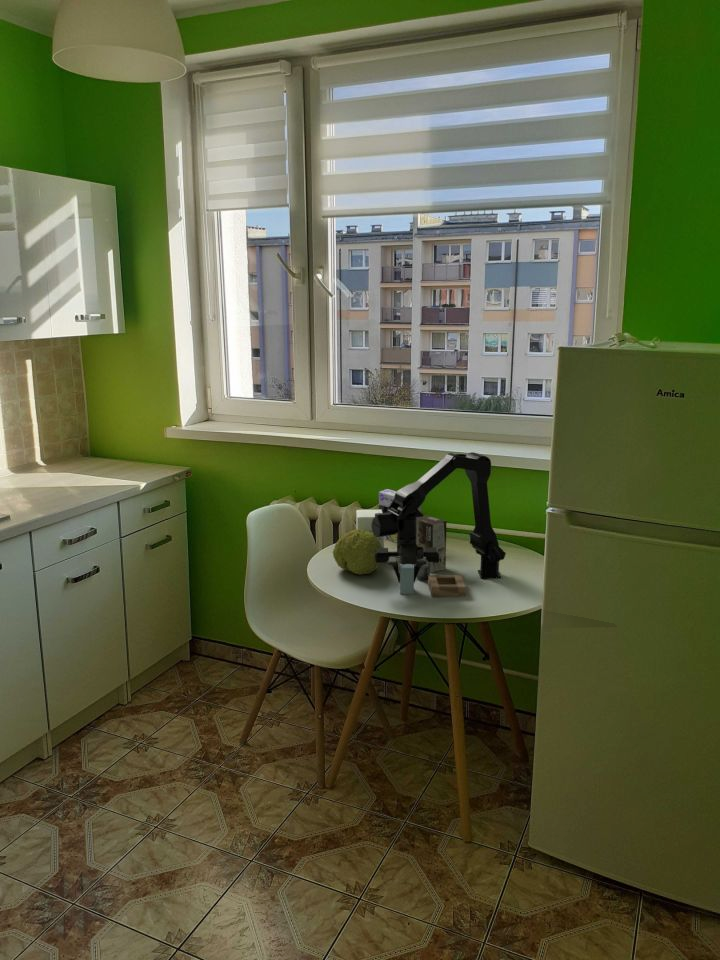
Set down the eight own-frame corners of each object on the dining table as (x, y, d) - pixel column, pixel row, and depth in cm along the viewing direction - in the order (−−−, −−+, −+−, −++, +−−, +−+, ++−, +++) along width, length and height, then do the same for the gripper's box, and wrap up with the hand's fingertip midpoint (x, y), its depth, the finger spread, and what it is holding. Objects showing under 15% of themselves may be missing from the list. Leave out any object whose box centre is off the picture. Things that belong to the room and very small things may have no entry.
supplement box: (356, 551, 266) (355, 509, 262) (382, 550, 266) (382, 508, 263) (357, 560, 257) (356, 517, 253) (384, 559, 257) (384, 516, 254)
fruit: (324, 576, 242) (322, 529, 246) (352, 580, 254) (350, 535, 258) (366, 570, 233) (363, 521, 237) (392, 574, 244) (390, 527, 248)
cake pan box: (377, 536, 281) (376, 489, 277) (387, 533, 284) (387, 487, 280) (412, 550, 267) (412, 500, 262) (423, 547, 270) (423, 498, 265)
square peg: (399, 588, 233) (399, 563, 231) (412, 588, 233) (412, 563, 231) (400, 593, 229) (400, 568, 227) (413, 593, 229) (413, 568, 227)
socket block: (428, 584, 236) (428, 575, 235) (460, 583, 236) (461, 574, 235) (431, 597, 226) (431, 587, 225) (465, 596, 226) (465, 587, 225)
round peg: (415, 576, 243) (416, 552, 241) (429, 575, 243) (429, 551, 241) (417, 581, 238) (417, 556, 237) (430, 580, 239) (431, 556, 237)
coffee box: (446, 568, 249) (447, 520, 245) (432, 573, 245) (433, 524, 241) (427, 561, 256) (427, 514, 252) (412, 565, 252) (413, 518, 248)
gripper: (375, 541, 218) (376, 593, 222) (441, 540, 219) (440, 592, 222) (374, 529, 229) (374, 578, 233) (437, 528, 229) (436, 577, 233)
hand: (406, 582), depth 230 cm, fingers closed on square peg, 4 cm apart
